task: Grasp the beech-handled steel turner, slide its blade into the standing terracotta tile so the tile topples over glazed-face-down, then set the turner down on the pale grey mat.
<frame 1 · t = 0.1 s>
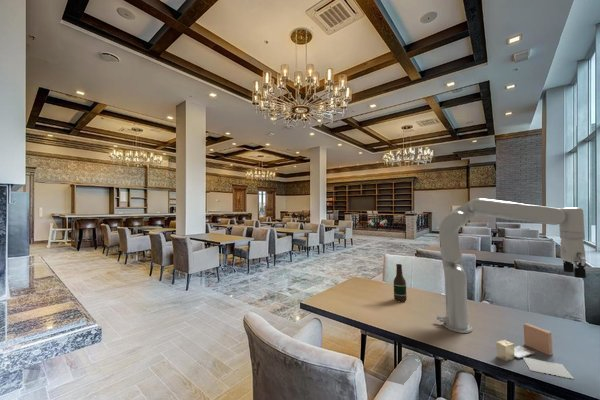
hand: (574, 274, 111), 31 cm above the table, fingers open, 9 cm apart
mat: (546, 367, 97), on the table
tile: (538, 349, 110), on the table
beer bottle: (400, 300, 169), on the table
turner: (505, 357, 105), on the table
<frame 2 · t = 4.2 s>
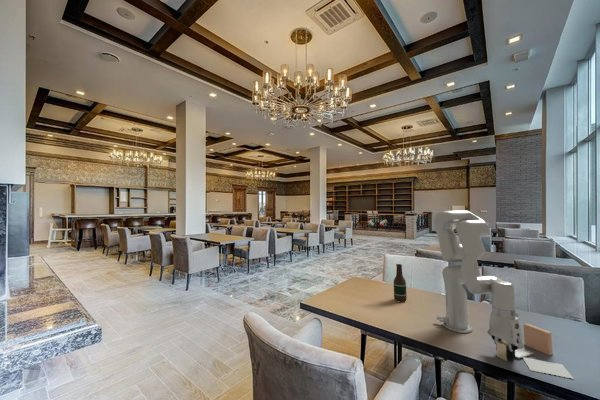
hand: (505, 356, 104), 0 cm above the table, fingers closed on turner, 3 cm apart
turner: (505, 357, 104), on the table, touching gripper
everything else where it was.
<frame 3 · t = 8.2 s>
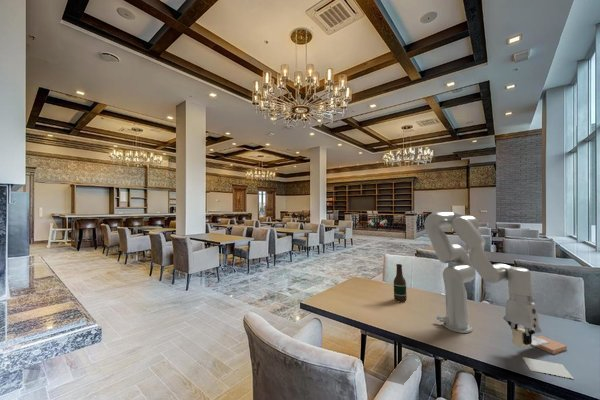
hand: (522, 341, 107), 5 cm above the table, fingers closed on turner, 3 cm apart
tile: (540, 347, 110), point 1 cm above the table, tilted 90°
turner: (521, 345, 107), point 4 cm above the table, touching gripper
everything else where it was.
when the fingers open (2 cm above the table, at t = 12.1 s): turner stays where it is, resting on mat.
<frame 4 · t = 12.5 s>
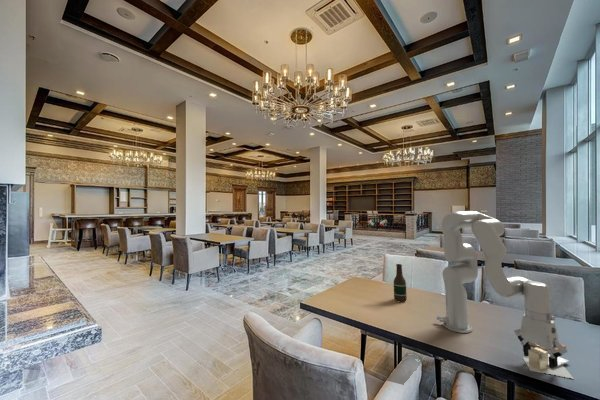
hand: (539, 360, 98), 2 cm above the table, fingers open, 7 cm apart
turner: (538, 366, 98), resting on mat
everything else where it was.
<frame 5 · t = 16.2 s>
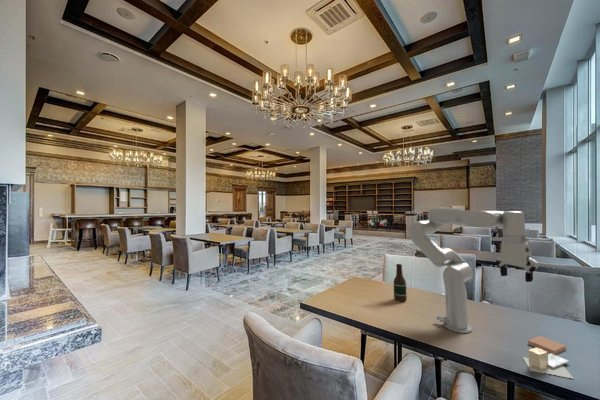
hand: (516, 278, 111), 30 cm above the table, fingers open, 9 cm apart
nothing on the table moved.
at the end: tile tilted 90°; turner inside the target area on the mat (2.7 cm from its centre), point 0.3 cm above the mat's base; the gripper is holding nothing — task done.
